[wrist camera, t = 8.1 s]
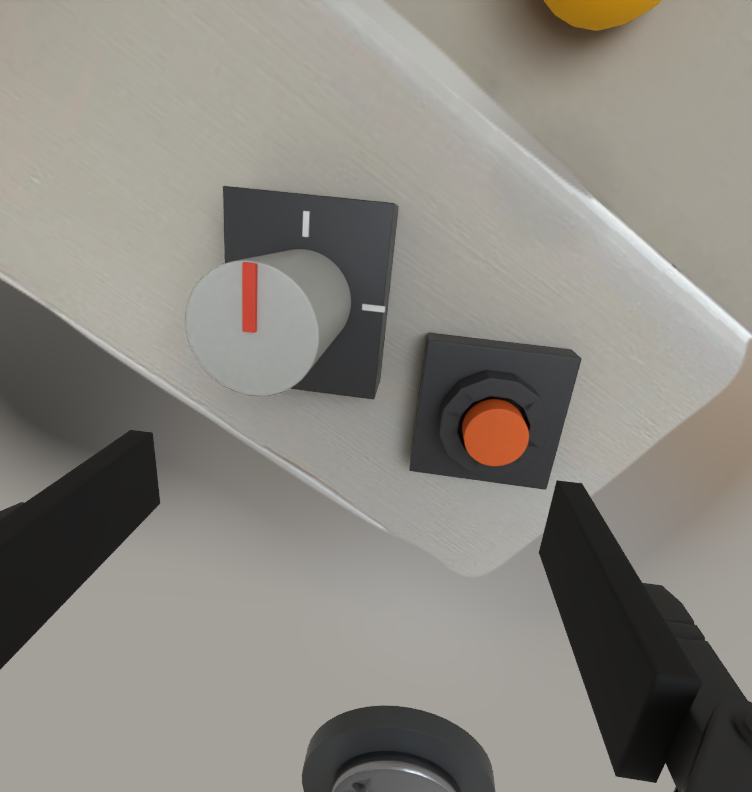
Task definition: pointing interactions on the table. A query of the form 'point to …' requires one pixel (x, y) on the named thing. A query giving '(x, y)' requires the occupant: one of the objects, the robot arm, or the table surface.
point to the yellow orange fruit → (599, 12)
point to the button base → (482, 380)
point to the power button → (495, 432)
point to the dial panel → (346, 247)
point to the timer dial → (266, 319)
